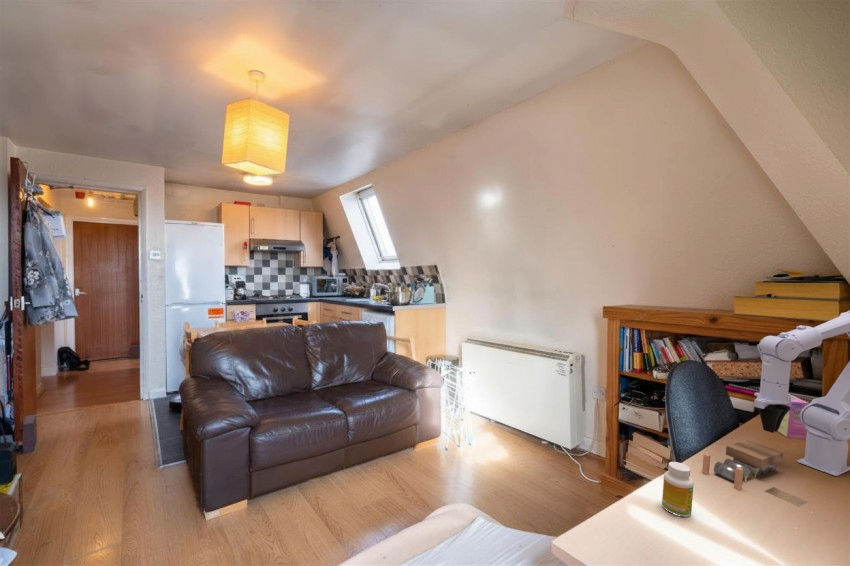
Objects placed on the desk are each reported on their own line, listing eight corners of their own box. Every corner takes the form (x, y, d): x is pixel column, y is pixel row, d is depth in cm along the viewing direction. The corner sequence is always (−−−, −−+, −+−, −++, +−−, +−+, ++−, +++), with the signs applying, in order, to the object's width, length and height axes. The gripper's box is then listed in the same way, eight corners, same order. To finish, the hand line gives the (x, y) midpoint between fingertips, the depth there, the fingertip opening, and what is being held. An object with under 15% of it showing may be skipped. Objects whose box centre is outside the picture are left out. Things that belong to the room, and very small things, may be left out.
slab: (746, 448, 110) (746, 439, 110) (782, 461, 102) (782, 452, 102) (725, 454, 105) (726, 445, 105) (761, 469, 98) (762, 459, 98)
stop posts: (704, 472, 102) (706, 453, 102) (741, 489, 94) (743, 469, 94) (702, 473, 101) (703, 454, 101) (738, 490, 94) (740, 470, 94)
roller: (723, 471, 103) (723, 460, 102) (729, 468, 104) (729, 457, 104) (745, 481, 98) (745, 470, 98) (752, 477, 99) (752, 466, 99)
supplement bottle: (691, 521, 82) (695, 475, 81) (661, 511, 84) (664, 467, 84) (690, 508, 86) (694, 464, 86) (662, 499, 89) (665, 457, 89)
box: (807, 439, 125) (811, 403, 124) (786, 437, 126) (790, 401, 125) (784, 426, 135) (788, 392, 134) (765, 424, 136) (768, 391, 135)
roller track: (752, 460, 109) (753, 449, 109) (830, 492, 95) (832, 479, 95) (712, 474, 101) (713, 462, 101) (791, 510, 87) (792, 496, 86)
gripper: (770, 374, 113) (766, 421, 114) (742, 379, 107) (738, 428, 107) (802, 381, 107) (798, 431, 107) (774, 387, 100) (770, 439, 101)
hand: (770, 430), depth 107 cm, fingers closed
